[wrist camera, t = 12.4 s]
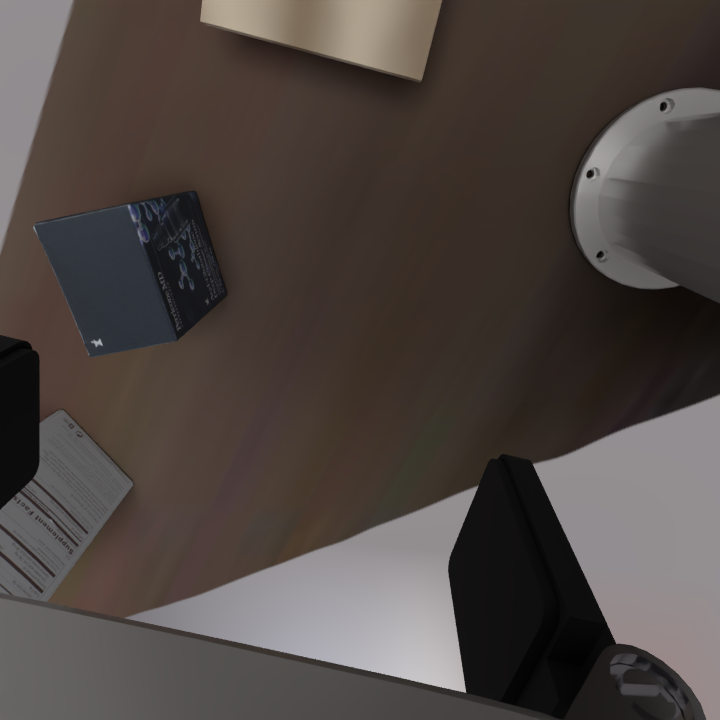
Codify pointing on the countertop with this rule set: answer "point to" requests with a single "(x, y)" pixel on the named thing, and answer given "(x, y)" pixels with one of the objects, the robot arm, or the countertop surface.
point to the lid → (338, 29)
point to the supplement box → (57, 510)
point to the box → (134, 271)
